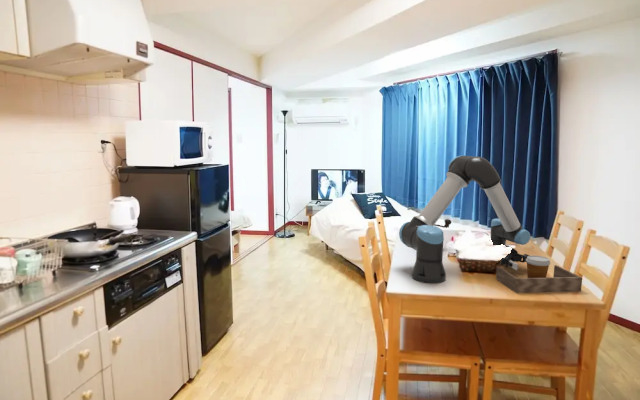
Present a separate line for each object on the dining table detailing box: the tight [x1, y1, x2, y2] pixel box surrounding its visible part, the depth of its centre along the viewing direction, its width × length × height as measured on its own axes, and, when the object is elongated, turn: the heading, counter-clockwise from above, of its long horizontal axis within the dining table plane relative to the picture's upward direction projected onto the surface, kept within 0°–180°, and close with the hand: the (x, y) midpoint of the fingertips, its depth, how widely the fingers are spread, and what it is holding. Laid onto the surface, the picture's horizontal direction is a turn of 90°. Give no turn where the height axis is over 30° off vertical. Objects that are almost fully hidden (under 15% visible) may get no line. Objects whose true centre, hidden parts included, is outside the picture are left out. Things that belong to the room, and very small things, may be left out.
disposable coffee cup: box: [525, 255, 551, 278], centre depth 178 cm, size 10×10×12 cm
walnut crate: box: [495, 264, 583, 294], centre depth 178 cm, size 28×17×6 cm, turn 93°
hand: (531, 267), depth 183 cm, fingers open, 13 cm apart
